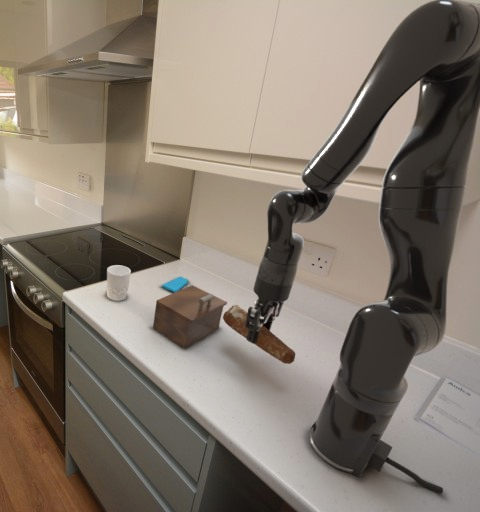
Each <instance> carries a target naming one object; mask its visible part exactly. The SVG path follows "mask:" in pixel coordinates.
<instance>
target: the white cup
mask: <svg viewBox="0 0 480 512" xmlns="http://www.w3.org/2000/svg"><path fill="white" fill-rule="evenodd" d="M131 272H132V271H131V268H129V267H127V266H125V265H120V264H115V265H110V266H108V267H107V269H106V296H107V298H108V299H110V300H112V301H115V302H120V301H124V300H126V299H127V296H128V295H127V294H128V291H129V285H130V281H131V280H130V279H131Z"/></svg>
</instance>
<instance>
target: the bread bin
mask: <svg viewBox="0 0 480 512" xmlns="http://www.w3.org/2000/svg"><path fill="white" fill-rule="evenodd" d="M223 312H224V306H223V307H221V308H219V309H217V310H215V311H213V312H212V313H210V314H208V315H206V316H204V317H202V318H201V319H199V320H197V321H195V322H193V323H190V322H189V321H187V320H185V319H184V318H182V317H180V316H178V315H177V314H175V313H173V312H172V311H170V310H168V309H166V308H165V307H163V306H161V305H159V304H158V303H156V302H155V309H154V317H153V322H152V323H153V324H152V329H153V330H155V331H156V332H158V333H159V334H161V335H162V336H163V337H165V338H167V339H168V340H170V341H171V342H173V343H174V344H176V345H177V346H179V347H180V348H182V349H183V350H184V349H187V348H188V347H190V346H191V345H193V344H195V343H197V342H198V341H201V339H204V338H205V337H207V336H208V335H210V334H211V333H214V332H215V331H217V330H218V329H219V327H220V323H221V319H222V316H223Z"/></svg>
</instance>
